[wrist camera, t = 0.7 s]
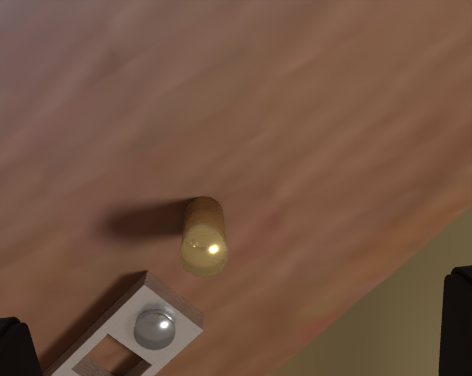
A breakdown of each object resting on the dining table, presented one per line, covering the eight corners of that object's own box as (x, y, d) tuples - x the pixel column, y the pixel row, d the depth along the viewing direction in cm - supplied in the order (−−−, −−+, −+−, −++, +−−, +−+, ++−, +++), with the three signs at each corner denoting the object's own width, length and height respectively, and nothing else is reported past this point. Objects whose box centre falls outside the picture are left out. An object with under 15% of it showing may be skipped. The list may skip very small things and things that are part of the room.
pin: (187, 234, 38) (183, 280, 31) (182, 198, 37) (177, 237, 30) (224, 229, 38) (230, 274, 31) (221, 194, 37) (225, 231, 30)
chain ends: (89, 418, 44) (80, 449, 41) (33, 383, 42) (18, 411, 39) (203, 313, 41) (203, 337, 38) (147, 270, 39) (142, 290, 36)
